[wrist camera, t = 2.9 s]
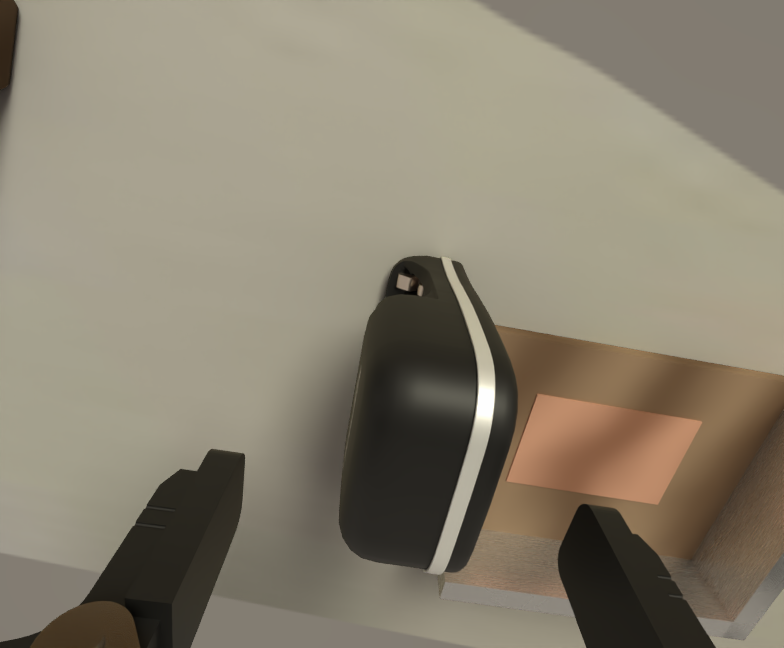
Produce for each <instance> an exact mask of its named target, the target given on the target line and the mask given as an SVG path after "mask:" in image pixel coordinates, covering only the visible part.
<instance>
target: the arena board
mask: <svg viewBox="0 0 784 648" xmlns="http://www.w3.org/2000/svg"><path fill="white" fill-rule="evenodd" d="M495 327H496V329H497V331H498V333H499V335H500V338H501V340H502V342H503V344H504V346H505V349H506V351H507V353H508V356H509V358H510V360H511V364H512V367H513V370H514V373H515V376H516V381H517V389H518V413H517V419H516V426H515V431H514V435H513V438H512V442H511V446H510V449H509V452H508V455H507V458H506V461H505V464H504V467H503V470H502V473H501V476H500V479H499V482H498V485H497V488H496V490H495V493H494V496H493V499H492V502H491V505H490V508H489V511H488V513H487V516H486V519H485V521H484V524H483V527H482V529H485V530H492V531H499V532H506V533H513V534H519V535H526V536H533V537H540V538H546V539H553V540H560V541H563V539H564V537H565V535H566V532H567V530H568V528H569V526H570V524H571V521H572V519H573V517H574V515H575V512H576V510H577V508H578V507H579V506H580V505H581V504H590V505H597V506H604V507H611V508H615V509H617V510H618V511H619V512H620V514H621V515H622V517H623V519H624V520H625V522H626V524H627V525H628V527H629V529H630V530H631V532H632V534H638V535H639V536H640V537H641V538H642V539H643V540H644V541H645V542H646V543H647V544H648V545H649V546H650V547H651V548H652V549H653V550H654V551H655V552H656V553H657V554H658V555H662V556H668V557H675V558H682V559H689V560H691V559H692V557H693V555H694V554H695V552H696V550H697V549H698V547H699V546H700V544H701V542H702V541H703V539H704V538H705V536H706V534H707V533H708V531H709V529H710V528H711V526H712V525H713V523H714V521H715V520H716V518H717V516H718V515H719V513H720V512H721V510H722V508H723V507H724V505H725V503H726V502H727V500H728V499H729V497H730V495H731V494H732V492H733V491H734V489H735V487H736V486H737V484H738V482H739V481H740V479H741V478H742V476H743V474H744V473H745V471H746V469H747V468H748V466H749V465H750V463H751V461H752V460H753V458H754V457H755V455H756V453H757V452H758V450H759V448H760V447H761V445H762V444H763V442H764V440H765V439H766V437H767V435H768V434H769V432H770V431H771V429H772V427H773V426H774V424H775V423H776V421H777V419H778V418H779V416H780V414H781V413H782V411H783V410H784V376H782V375H776V374H770V373H765V372H759V371H753V370H748V369H742V368H736V367H731V366H725V365H719V364H714V363H708V362H702V361H697V360H691V359H685V358H679V357H674V356H668V355H662V354H657V353H651V352H645V351H640V350H634V349H628V348H623V347H617V346H611V345H606V344H600V343H594V342H589V341H583V340H577V339H572V338H566V337H560V336H555V335H549V334H543V333H537V332H532V331H526V330H520V329H515V328H509V327H503V326H498V325H495Z"/></svg>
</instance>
